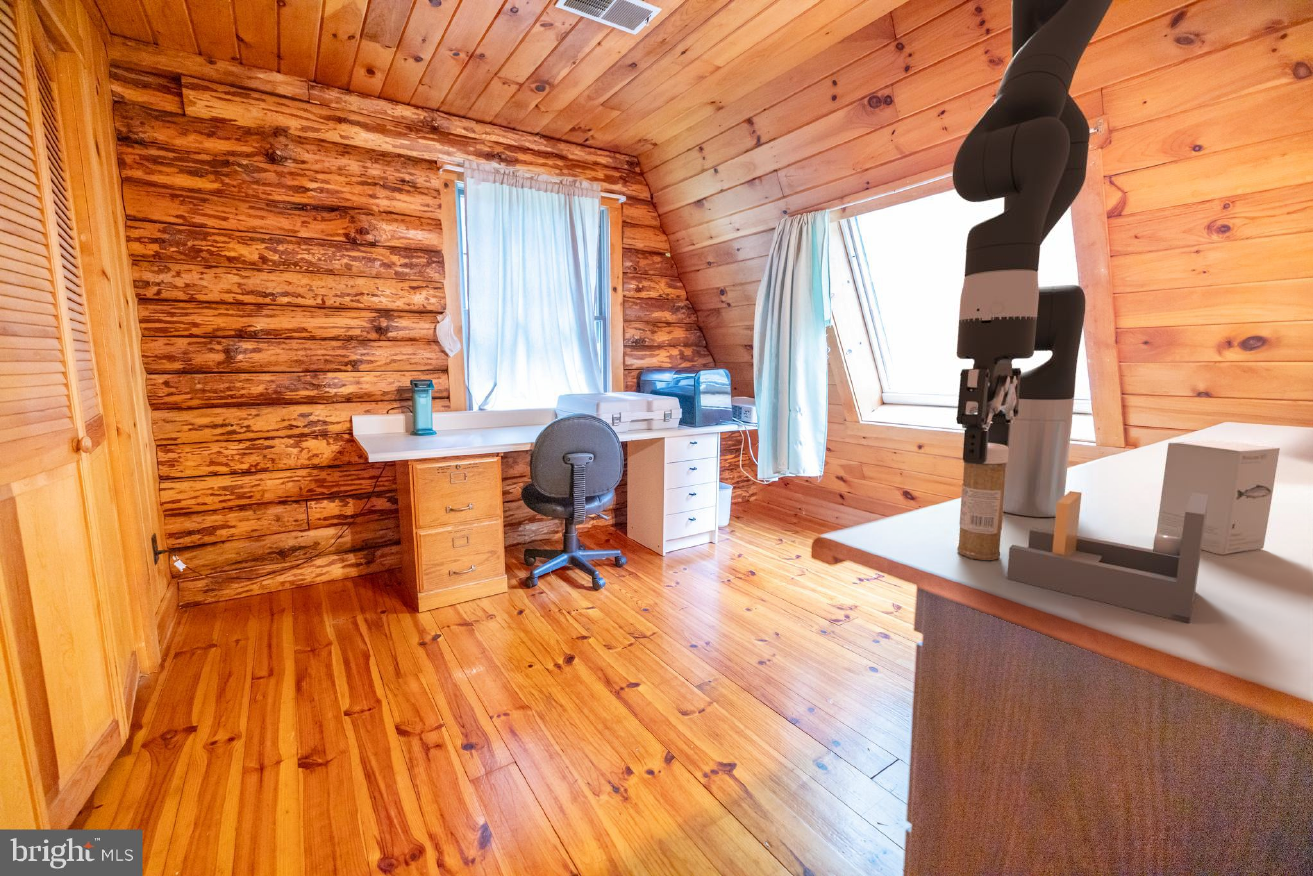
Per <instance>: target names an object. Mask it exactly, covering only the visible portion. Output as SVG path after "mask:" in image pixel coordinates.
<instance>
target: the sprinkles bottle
mask: <svg viewBox="0 0 1313 876" xmlns="http://www.w3.org/2000/svg"><path fill="white" fill-rule="evenodd" d="M1008 454H1009V448H1008V447H1007V446H1005V445H1002V444H996V443H988V448H987V460H986V462H985V463H983V464H974V463H966V462H964V460H963V474H962V475H963V476H962V477H963V478H962V485H961V499H960V513H959V533H958V534H959V538H958V545H957V548H956V550H957V553H959V554H960V555H963V556H964V557H967V558H969V559H973V560H979V561H980V560H981V561H993V560H997V559H999V558H1000V556H1001V551H1000V550H1001V537H1002V536H1001V535H1002V530H1003V521H1004V511H1003V509H1004V505H1003V499H1004V498H1003V497H1004V484H1005V467H1006V465H1007V464H1006V463H1007V462H1008Z"/></svg>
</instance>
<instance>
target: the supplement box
mask: <svg viewBox="0 0 1313 876" xmlns="http://www.w3.org/2000/svg"><path fill="white" fill-rule="evenodd" d="M1166 449H1167V451H1166V460H1165V464H1164V465H1165V466H1164V472H1163V473H1164V474H1163V479H1162V480H1163V481H1162V487H1161V489H1162V490H1161V495H1160V503H1159V510H1158V517H1157V525H1156V526H1157V527H1156V532H1155V534H1161V535H1167V536H1174V537H1180V538H1182V533H1183V525H1184V518H1185V511H1186V508H1187V505H1188V502H1189V500H1190V497H1191V494H1192V493H1200V494H1208V495H1209V497H1208V504H1207V512H1206V519H1205V526H1204V533H1203V541H1202V548H1201V551H1206V552H1210V553H1213V554H1217V555H1221V556H1224V555H1228V554H1232V553H1233V554H1234V553H1239V552H1246V551H1251V550H1253V551H1254V550H1262V549H1264V546H1265V540H1266V535H1267V529H1268V523H1269V517H1270V512H1271V507H1272V506H1271V505H1272V499H1273V494H1274V493H1273V492H1274V487H1275V480H1276V473H1277V469H1278V468H1277V467H1278V463H1279V462H1278V461H1279V456H1280V450H1281V449H1280V447H1276V446H1268V445H1260V444H1259V445H1258V444H1249V443H1239V442H1231V441H1223V440H1213V439H1211V440H1210V439H1204V440H1201V439H1200V440H1189V441H1185V440H1184V441H1172V442H1168V444H1167V448H1166Z"/></svg>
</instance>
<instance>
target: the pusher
mask: <svg viewBox="0 0 1313 876" xmlns="http://www.w3.org/2000/svg"><path fill="white" fill-rule="evenodd" d="M1081 501H1082V492H1080V491H1071V490H1069V492H1067V493H1065V496H1064V497H1063V498H1062V499H1060V500H1059V501H1058V502H1057V509H1056V516H1055V521H1054V540H1053V551H1052V553H1056V554H1061V555H1066V556H1071V557H1076V558H1081V559H1086V560H1091V561H1095V562H1100V563H1102V556H1100V555H1095V554H1090V553H1085V552H1080V551H1076V543H1077V536H1078V533H1079V532H1078V530H1079V522H1080V521H1079V520H1080V513H1081V503H1082V502H1081Z"/></svg>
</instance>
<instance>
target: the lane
mask: <svg viewBox="0 0 1313 876" xmlns="http://www.w3.org/2000/svg"><path fill="white" fill-rule="evenodd" d="M1208 497H1209V495H1208V494H1200V493H1192V494H1191V497H1190V500H1189V502H1188V505H1187V508H1186V511H1185V518H1184V525H1183V533H1182V538H1180V537H1174V536H1167V535H1161V534H1156V533H1155V534H1154V538H1153V539H1154V540H1153V546H1152V547H1153V548H1146V547H1141V546H1135V545H1131V544H1125V543H1124V544H1123V543H1119V542H1114V541H1107V540H1103V539H1099V538H1098V539H1097V538H1091V537H1088V536H1087V537H1086V536H1081V535H1077V543H1076V551H1080V552H1085V553H1090V554H1095V555H1100V556H1102V563H1100V562H1095V561H1091V560H1086V559H1081V558H1076V557H1071V556H1066V555H1061V554H1056V553H1052V551H1053V540H1054V531H1053V530H1049V529H1048V530H1047V529H1042V528H1036V527H1032V528H1030V529H1029V532H1028V533H1029V535H1028V544H1027V546H1021V545H1017V544H1011V545H1010V546H1009V547H1008V549H1009V550H1008V562H1007V573H1006V575H1007V576H1006V579H1008V580H1011V581H1016V582H1020V583H1023V584H1028V585H1032V586H1036V587H1040V588H1044V589H1047V590H1048V589H1049V590H1052V591H1056V592H1060V593H1065V594H1067V595H1072V596H1077V597H1080V598H1085V599H1089V600H1093V601H1097V602H1102V603H1105V604H1108V605H1109V604H1110V605H1114V606H1118V607H1121V608H1125V609H1129V610H1135V611H1137V612H1142V613H1146V614H1150V615H1154V616H1158V617H1163V618H1165V619H1166V618H1167V619H1171V620H1176V621H1179V622H1183V623H1187V624H1190V622H1191V617H1192V612H1193V607H1194V601H1195V595H1196V589H1197V583H1198V575H1199V569H1200V562H1201V554H1202V550H1201V548H1202V541H1203V533H1204V526H1205V519H1206V512H1207V504H1208Z"/></svg>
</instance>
